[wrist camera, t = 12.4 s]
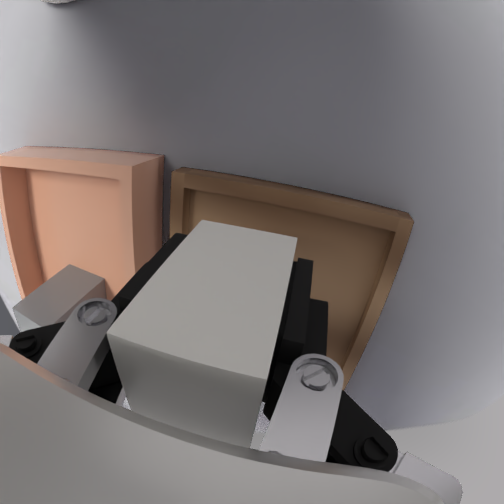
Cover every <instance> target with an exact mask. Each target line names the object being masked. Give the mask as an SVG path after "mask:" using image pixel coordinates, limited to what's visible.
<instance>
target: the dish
mask: <svg viewBox="0 0 504 504" xmlns="http://www.w3.org/2000/svg"><path fill="white" fill-rule="evenodd" d="M163 173H164V155H159V154H149V153H139V152H129V151H117V150H104V149H89V148H71V147H43V146H25V147H21V148H18V149H14V150H11V151H8V152H5V153H2V154H0V208H1V214H2V220H3V226H4V231H5V236H6V241H7V245H8V250H9V254H10V258H11V263H12V267H13V270H14V274H15V278H16V281H17V285H18V288H19V292H20V295H21V298H22V300H23V299H24V298H25V297H26V296H28V295H29V294H30V293H32V292H33V291H34V290H35V289H37V288H38V287H39V286H41V285H42V284H43V283H45V282H46V281H47V280H49V279H50V278H51V277H53V276H54V275H55V274H57V273H58V272H59V271H61V270H62V269H63V268H65V267H66V266H67V265H69V264H71V265H73V266H76V267H78V268H80V269H83V270H85V271H88V272H90V273H93V274H95V275H97V276H100V277H102V278H105V288H106V297H107V300H110V301H111V300H112V299H113V298H114V297H115V296H116V295H117V293H118V292H119V291H120V290H121V289H122V288H123V287H124V286H125V285H126V283H127V282H128V281H129V280H130V279H131V278H132V277H133V276H134V275H135V274H136V272H137V271H138V270H139V269H140V268H141V267H142V266H143V265H144V264H145V263H146V262H149V260H150V259H151V258H152V257H153V256H154V255H155V254H156V253H157V252H158V251H159V250H160V249H161V248H162V205H163Z"/></svg>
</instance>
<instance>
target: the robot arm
mask: <svg viewBox="0 0 504 504" xmlns="http://www.w3.org/2000/svg"><path fill="white" fill-rule="evenodd" d="M41 1H43V2H49V3H55V4H57V3H68V2H71V1H74V0H41ZM187 236H188V235H186V234H181V233H175V234H174V235H173V236H172V237H171V238H170V239H169V240H168V241H167V242H166V243H165V244H164V246H163V247H162V248H161V249H160V250H159V251H158V252H157V253H156V254H155V255H154V256H153V257H152V258H151V259H150V260H149V262H146V263H145V264H144V265H143V266H142V267H141V268H140V269H139V270H138V271H137V272H136V274H135V275H134V276H133V277H132V278H131V279H130V280H129V281H128V282H127V283H126V285H125V286H124V287H123V288H122V289H121V290H120V291H119V292H118V293H117V295H116V296H115V297H114V298H113V299H112V300H111V301H110V300H107V299H104V298H92V299H88V300H85V301H84V302H82V303H80V304H79V305H78V306H77V307H76V308H75V309H74V311H73V312H72V313H71V315H70V316H69V318H68V319H67V320H66V321H64V322H60V323H56V324H51V325H47V326H43V327H38V328H34V329H30V330H26V331H23V332H21V333H19V334H17V335H16V336H15V337H14V338H13V336H12V335H0V504H460V501H461V498H462V486H461V484H460V482H459V481H458V480H457V479H456V478H455V477H454V476H452V475H450V474H448V473H446V472H444V471H442V470H440V469H438V468H436V467H434V466H433V465H431V464H429V463H426V462H425V461H423V460H421V459H419V458H418V457H416V456H414V455H412V454H410V453H409V452H406V453H405V454H403V453H401V452H399V451H398V449H397V446H396V443H395V442H394V440H393V439H392V438H391V436H389V435H388V434H387V433H386V432H385V431H384V430H383V429H382V428H381V427H380V426H379V425H378V424H377V423H376V422H375V421H374V420H373V419H372V418H371V417H370V416H369V415H368V414H367V413H366V412H365V411H364V410H363V409H362V408H360V407H359V406H358V405H357V404H356V403H355V402H354V401H353V400H352V399H351V398H350V397H349V396H348V395H347V394H346V393H345V392H344V391H343V390H342V387H343V381H344V375H343V372H342V370H341V368H340V366H339V365H338V364H337V363H336V362H335V361H333V360H332V359H331V358H329V357H326V353H327V333H328V302H327V301H322V300H317V299H312V298H310V294H311V284H312V274H313V262H314V261H313V260H308V259H303V258H298V260H297V261H293V264H292V269H291V274H290V279H289V283H288V288H287V293H286V298H285V302H284V307H283V312H282V316H281V321H280V325H279V330H278V334H277V339H276V343H275V348H274V352H273V356H272V361H271V365H270V369H269V373H268V378H267V382H266V386H265V390H264V394H263V398H262V402H265V405H264V409H263V411H264V412H263V413H264V414H265V416H266V417H267V418H268V419H269V421H270V423H269V425H268V428H267V430H266V433H265V435H264V438H263V440H262V442H261V445H260V448H259V450H255V449H250V448H246V447H242V446H238V445H234V444H230V443H226V442H222V441H219V440H215V439H212V438H208V437H205V436H201V435H198V434H195V433H192V432H188V431H185V430H182V429H179V428H176V427H173V426H170V425H167V424H165V423H162V422H159V421H156V420H154V419H151V418H148V417H146V416H143V415H141V414H138V413H136V412H133V411H131V410H128V409H126V408H123V407H122V405H123V402H124V400H125V397H126V394H125V392H124V389H123V386H122V383H121V380H120V377H119V374H118V371H117V368H116V364H115V361H114V358H113V355H112V351H111V348H110V344H109V341H108V337H107V334H106V332H107V331H108V330H109V328H110V327H111V326H112V325H113V323H114V322H115V321H116V320H117V318H118V317H119V316H120V315H121V313H122V312H123V311H124V310H125V308H126V307H127V306H128V305H129V304H130V302H131V301H132V300H133V299H134V297H135V296H136V295H137V294H138V293H139V291H140V290H141V289H142V288H143V287H144V285H145V284H146V283H147V282H148V281H149V280H150V278H151V277H152V276H153V275H154V274H155V272H156V271H157V270H158V269H159V268H160V267H161V265H162V264H163V263H164V262H165V261H166V260H167V258H168V257H169V256H170V255H171V254H172V253H173V252H174V250H175V249H176V248H177V247H178V246H179V245H180V244H181V242H182V241H183V240H184V239H185V238H186V237H187Z"/></svg>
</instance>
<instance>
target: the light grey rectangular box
mask: <svg viewBox="0 0 504 504" xmlns="http://www.w3.org/2000/svg"><path fill="white" fill-rule="evenodd" d="M296 243H297V238H296V237H291V236H286V235H281V234H276V233H271V232H265V231H260V230H255V229H250V228H244V227H239V226H234V225H228V224H223V223H217V222H212V221H206V220H201V221H200V222H199V223H198V225H197V226H196V227H195V228H194V229H193V230H192V231H191V232H190V233H189V235H188V236H187V237H186V238H185V239H184V240H183V241H182V242H181V244H180V245H179V246H178V247H177V248H176V249H175V250H174V252H173V253H172V254H171V255H170V256H169V257H168V258H167V260H166V261H165V262H164V263H163V264H162V265H161V267H160V268H159V269H158V270H157V271H156V272H155V274H154V275H153V276H152V277H151V278H150V280H149V281H148V282H147V283H146V284H145V285H144V287H143V288H142V289H141V290H140V291H139V293H138V294H137V295H136V296H135V297H134V299H133V300H132V301H131V302H130V304H129V305H128V306H127V307H126V308H125V310H124V311H123V312H122V313H121V315H120V316H119V317H118V318H117V320H116V321H115V322H114V323H113V325H112V326H111V327H110V328H109V330H108V331H107V332H106V334H107V337H108V341H109V344H110V348H111V351H112V355H113V358H114V361H115V364H116V368H117V371H118V374H119V377H120V380H121V383H122V386H123V389H124V392H125V394H126V397H127V400H128V403H129V405H130V408H131V411H133V412H136V413H138V414H141V415H143V416H146V417H148V418H151V419H154V420H156V421H159V422H162V423H165V424H167V425H170V426H173V427H176V428H179V429H182V430H185V431H188V432H192V433H195V434H198V435H201V436H205V437H208V438H212V439H215V440H219V441H222V442H226V443H230V444H234V445H238V446H242V447H246V448H250V444H251V441H252V437H253V433H254V430H255V426H256V422H257V418H258V414H259V410H260V406H261V402H262V398H263V394H264V390H265V386H266V382H267V378H268V373H269V369H270V365H271V361H272V356H273V352H274V348H275V343H276V339H277V334H278V330H279V325H280V321H281V316H282V312H283V307H284V302H285V298H286V293H287V288H288V283H289V279H290V274H291V269H292V264H293V259H294V254H295V249H296Z"/></svg>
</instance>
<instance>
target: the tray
mask: <svg viewBox="0 0 504 504" xmlns="http://www.w3.org/2000/svg"><path fill="white" fill-rule="evenodd" d="M201 220H206V221H212V222H217V223H223V224H228V225H234V226H239V227H244V228H250V229H255V230H260V231H265V232H271V233H276V234H281V235H286V236H291V237H296V238H297V243H296V249H295V254H294V259H293V261H297V260H298V258H303V259H308V260H313V261H314V262H313V274H312V284H311V294H310V298H312V299H317V300H322V301H327V302H328V333H327V353H326V357H329V358H331V359H332V360H333V361H335V362H336V363H337V364H338V365H339V366H340V368H341V370H342V372H343V375H344V381H343V387H342V390H343V391H344V389H345V387H346V385H347V383H348V382H349V380H350V378H351V376H352V374H353V372H354V370H355V368H356V366H357V364H358V362H359V360H360V358H361V356H362V353H363V351H364V349H365V347H366V345H367V343H368V341H369V339H370V336H371V334H372V332H373V330H374V327H375V325H376V323H377V321H378V318H379V316H380V314H381V311H382V309H383V306H384V304H385V302H386V299H387V297H388V294H389V292H390V289H391V287H392V284H393V281H394V279H395V276H396V273H397V271H398V268H399V265H400V262H401V260H402V257H403V254H404V251H405V248H406V245H407V242H408V239H409V236H410V233H411V230H412V227H413V224H414V221H413V219H412V218H411V216H410V215H409V213H406V212H403V211H399V210H395V209H391V208H387V207H384V206H380V205H376V204H372V203H368V202H364V201H360V200H355V199H351V198H347V197H343V196H338V195H334V194H329V193H325V192H320V191H316V190H311V189H306V188H302V187H297V186H292V185H287V184H282V183H277V182H271V181H266V180H261V179H255V178H250V177H244V176H238V175H232V174H226V173H220V172H214V171H207V170H201V169H194V168H187V167H181V168H179V169H176V170H174V171H172V174H171V198H170V238H171V237H172V236H173V235H174V234H175V233H181V234H186V235H189V233H190V232H191V231H192V230H193V229H194V228H195V227H196V226H197V225H198V223H199V222H200V221H201Z"/></svg>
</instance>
